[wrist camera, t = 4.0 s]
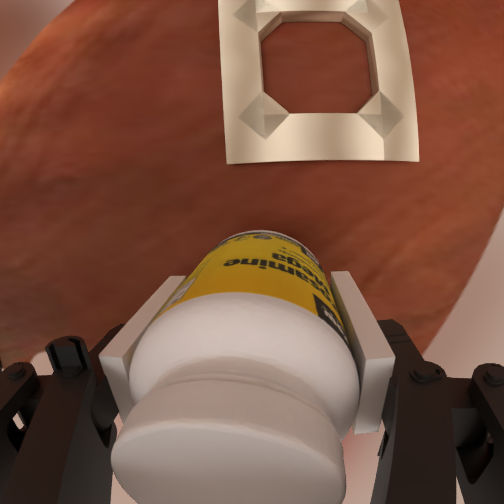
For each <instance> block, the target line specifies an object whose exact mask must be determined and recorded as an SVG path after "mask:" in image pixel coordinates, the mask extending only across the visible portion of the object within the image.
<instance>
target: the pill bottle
mask: <svg viewBox="0 0 504 504" xmlns="http://www.w3.org/2000/svg"><path fill="white" fill-rule="evenodd" d="M129 388H130V395H131V400H132V403H133V409H132V410H131V412H130V414H129V415H128V417H127V419H126V421H125V423H124V425H123V427H122V429H121V432H120V433H119V435H118V437H117V439H116V441H115V443H114V445H113V448H112V452H111V465H112V469H113V472H114V474H115V477H116V479H117V480H118V482H119V483H120V485H121V487H122V488H123V489H124V490H125V491H126V492H127V493H128V494H129V495H130V496H131V497H132V498H133V499H134V500H135V501H136V502H137V503H138V504H342V502H343V500H344V498H345V493H346V474H345V466H344V459H343V447H342V443H341V441H342V440H343V439H344V437H345V436H346V434H347V433H348V431H349V429H350V428H351V426H352V423H353V421H354V419H355V416H356V413H357V409H358V404H359V395H360V389H359V378H358V373H357V369H356V365H355V360H354V356H353V353H352V350H351V348H350V345H349V341H348V338H347V335H346V333H345V329H344V326H343V323H342V321H341V317H340V315H339V312H338V309H337V306H336V303H335V300H334V298H333V295H332V293H331V290H330V287H329V284H328V281H327V278H326V276H325V273H324V271H323V269H322V267H321V266H320V264H319V262H318V261H317V259H316V258H315V257H314V255H313V254H312V253H311V252H310V251H309V250H308V249H307V248H306V247H305V246H304V245H302V244H301V243H300V242H298V241H297V240H295V239H293V238H291V237H289V236H286V235H284V234H281V233H278V232H274V231H267V230H254V231H247V232H242V233H239V234H236V235H233V236H231V237H229V238H227V239H225V240H224V241H222V242H221V243H219V244H218V245H217V246H216V247H214V248H213V249H212V250H211V251H210V252H209V253H208V254H207V255H206V256H205V258H204V259H203V260H202V261H201V263H200V264H199V265H198V266H197V268H196V269H195V270H194V271H193V272H192V274H191V275H190V276H189V277H188V278H187V280H186V281H185V282H184V283H183V285H182V286H181V287H180V288H179V290H178V291H177V292H176V293H175V295H174V296H173V297H172V299H171V300H170V301H169V303H168V304H167V305H166V306H165V308H164V309H163V310H162V311H161V312H160V314H159V315H158V316H157V317H156V319H155V320H154V321H153V322H152V323H151V325H150V326H149V327H148V329H147V330H146V332H145V333H144V335H143V336H142V338H141V340H140V342H139V343H138V346H137V348H136V350H135V352H134V355H133V358H132V361H131V366H130V372H129Z"/></svg>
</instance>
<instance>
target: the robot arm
mask: <svg viewBox="0 0 504 504" xmlns="http://www.w3.org/2000/svg"><path fill="white" fill-rule="evenodd" d="M186 280H187V278H186V276H170V277H169V278H168V279H167V280H166V281H165V282H164V283H163V284H162V285H161V286H160V287H159V289H158V290H157V291H156V292H155V293H154V294H153V295H152V296H151V297H150V298H149V299H148V300H147V302H146V303H145V304H144V305H143V306H142V307H141V308H140V309H139V310H138V311H137V312H136V314H135V315H134V316H133V317H132V318H131V319H130V320H129V321H128V322H127V324H120V325H118V326H117V327H115V328H113V329H111V330H110V331H109V332H108V333H107V334H106V335H105V336H104V338H102V340H101V341H100V342H99V344H97V345H96V346H95V347H94V348H93V349H92V350H91V351H90V352H89V353H88V350H87V347H86V344H85V341H84V340H83V339H82V338H81V337H78V336H65V337H61V338H58V339H55V340H54V341H52V342H50V343H49V344H48V345H47V346H46V347H45V349H46V352H47V354H48V357H49V360H50V362H51V365H52V368H53V370H54V372H53V374H52V375H41V376H37V373H36V371H35V369H34V367H33V365H32V364H30V363H28V362H18V363H14V364H12V365H11V366H9V367H7V368H6V369H5V370H3V371H2V369H1V363H0V504H110V501H111V487H112V475H113V469H112V465H111V452H112V448H113V445H114V443H115V441H116V437H117V428H116V425H115V423H114V419H115V417H116V416H117V414H118V413H119V414H120V417H121V419H122V422H123V424H124V423H125V421H126V419H127V417H128V415H129V414H130V412H131V410H132V409H133V403H132V400H131V395H130V388H129V372H130V366H131V361H132V358H133V355H134V352H135V350H136V348H137V346H138V343H139V342H140V340H141V338H142V336H143V335H144V333H145V332H146V330H147V329H148V327H149V326H150V325H151V323H152V322H153V321H154V320H155V319H156V317H157V316H158V315H159V314H160V312H161V311H162V310H163V309H164V308H165V306H166V305H167V304H168V303H169V301H170V300H171V299H172V297H173V296H174V295H175V293H176V292H177V291H178V290H179V288H180V287H181V286H182V285H183V283H184V282H185V281H186ZM330 290H331V293H332V295H333V298H334V300H335V303H336V306H337V309H338V312H339V315H340V317H341V321H342V323H343V326H344V329H345V333H346V335H347V338H348V341H349V345H350V348H351V350H352V353H353V356H354V360H355V365H356V369H357V373H358V378H359V389H360V395H359V404H358V409H357V413H356V416H355V419H354V421H353V423H352V429H353V434H362V433H369V432H378V431H379V427H380V424H381V420H383V423H384V426H385V432H384V435H383V439H382V442H381V445H380V449H379V452H378V456H380V457H379V463H378V469H377V473H376V479H375V484H374V489H373V493H372V498H371V503H370V504H456V476H457V479H458V483H459V485H460V489H461V492H462V496H463V499H464V502H465V504H504V367H503V366H501V365H499V364H495V363H486V364H482V365H479V366H478V367H477V368H476V369H475V370H474V372H473V375H472V378H471V379H469V378H450V377H447V375H446V373H445V371H444V369H442V368H441V367H440V366H439V365H437V364H434V363H432V362H428V361H424V359H423V357H422V356H421V354H420V353H419V351H418V350H417V348H416V346H415V345H414V343H413V342H411V339H410V337H409V336H408V335H407V332H406V331H405V329H404V328H403V326H402V325H400V324H399V323H397V322H395V321H394V320H392V319H391V320H378V321H376V319H375V318H374V316H373V314H372V312H371V310H370V308H369V307H368V305H367V303H366V301H365V299H364V298H363V296H362V294H361V292H360V291H359V289H358V287H357V285H356V284H355V282H354V280H353V278H352V277H351V275H350V273H349V272H348V271H335V272H331V285H330ZM16 413H17V414H18V415H19V417H20V419H21V421H22V423H23V424H24V426H23V428H21V429H20V430H19V429H18V427H17V426H16V424H15V422H14V421H13V419H12V418H13V417H14V416H15V415H16Z"/></svg>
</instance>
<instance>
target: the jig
mask: <svg viewBox="0 0 504 504" xmlns="http://www.w3.org/2000/svg"><path fill="white" fill-rule="evenodd" d="M218 7H219V31H220V52H221V72H222V91H223V109H224V126H225V142H226V158H227V164H241V163H257V162H277V161H307V160H385V161H416V162H419V144H418V127H417V114H416V103H415V94H414V85H413V77H412V70H411V63H410V56H409V50H408V44H407V39H406V34H405V28H404V24H403V19H402V14H401V10H400V5H399V1H398V0H218ZM282 22H341V23H342V24H344V25H345V26H346V27H348V28H349V29H350V30H351V31H353V32H354V33H355V34H356V35H358V36H359V37H360V38H361V39H362V40H364V41H365V42H366V48H367V55H368V63H369V71H370V79H371V88H372V97H371V98H370V99H369V100H368V101H367V102H366V103H365V104H364V105H363V106H362V107H361V108H360V109H359V110H358V111H357V112H356V113H303V114H290V113H289V112H287V111H286V110H285V109H284V108H283V107H281V106H280V105H279V104H278V103H277V102H275V101H274V100H273V99H272V98H271V97H269V96H268V95H267V94H266V93H264V84H263V70H262V56H261V43H260V42H261V41H262V40H264V39H265V38H266V37H267V36H268V35H269V34H270V33H271V32H272V31H273V30H274V29H275V28H276V27H277V26H278V25H279V24H281V23H282Z"/></svg>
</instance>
